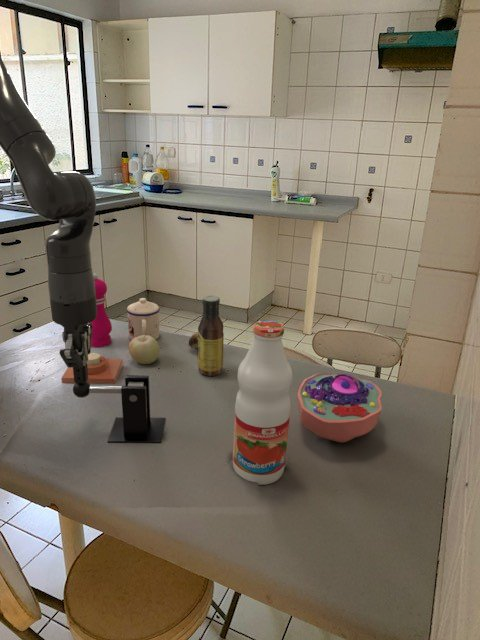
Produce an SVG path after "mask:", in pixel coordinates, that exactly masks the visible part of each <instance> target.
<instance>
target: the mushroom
mask: <svg viewBox="0 0 480 640" xmlns="http://www.w3.org/2000/svg"><path fill="white" fill-rule="evenodd" d="M188 346H189V347H190V348H192V349H197V350H198V331H197V332H195V333H193V334H192V335H191V336H190V337H189V339H188Z"/></svg>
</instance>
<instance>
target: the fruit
mask: <svg viewBox="0 0 480 640" xmlns="http://www.w3.org/2000/svg"><path fill="white" fill-rule="evenodd" d="M128 353H129V355H130V357H131V359H133V361H135V362H136V363H138V364H139V365H150V364H152V363H154V362H156V360H157V359H158V357H159V354H160V345H159V342H158V341H157V339H156V340H155V339H154V338H153V337H151V336H149V335H147V334H145V335H142V336H138V337H136V338H134V339H133V340H131V341H130V342H129V345H128Z"/></svg>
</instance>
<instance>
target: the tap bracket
mask: <svg viewBox="0 0 480 640" xmlns="http://www.w3.org/2000/svg"><path fill="white" fill-rule="evenodd" d="M129 382H144V386H128V383H129ZM124 384H125V385H121V386H122V387H121V394H120V395H121V411H122V416H121V417H120V416H119V417H118V416H117V417H115V419H114V422H113V425H112V427H111V431H110V433H109V436H108V439H107V443H108V444H162V441H163V435H164V428H165V424H166V417H151V395H150V393H151V392H150V391H151V390H150V375H146V374H145V375H137V374H136V375H135V374H126V375H125V377H124Z"/></svg>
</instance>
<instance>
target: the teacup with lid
mask: <svg viewBox="0 0 480 640" xmlns="http://www.w3.org/2000/svg"><path fill="white" fill-rule="evenodd" d="M126 312H127V324H128V328H127V329H128V338H129V340H131V341H132V340H133V339H134V338H136V337H138V336H142V335H145V334H147V335H149V336H151V337H153V338H154V339H155V340H156V341H157V340H158V339H159V337H160V306H159V305H158V304H157V303H155V302H151V301H148V300H147V298H146V297H141V298H140V297H139V300H138V301H136V302H133V303H130V304H129V305H128V306H127V308H126Z"/></svg>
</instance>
